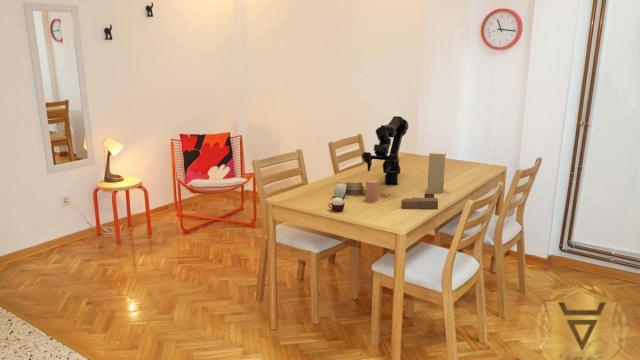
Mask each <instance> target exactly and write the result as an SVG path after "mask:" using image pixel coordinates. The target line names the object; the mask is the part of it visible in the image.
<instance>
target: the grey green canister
mask: <svg viewBox="0 0 640 360" xmlns="http://www.w3.org/2000/svg"><path fill="white" fill-rule="evenodd" d="M345 183H346V182H336V183H334V185H333V186H334V191H333V192H334V197H333V199H334V198H341V199H343V197H344V194H345V191H346V184H345ZM345 199H347V195H346V194H345V197H344V200H345Z"/></svg>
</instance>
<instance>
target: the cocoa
mask: <svg viewBox="0 0 640 360" xmlns="http://www.w3.org/2000/svg"><path fill="white" fill-rule="evenodd" d="M348 187H349V186H347V189H348ZM347 189H346V191H345V194H346V192H347ZM345 194H344V197H345ZM344 197H343V199H341V198H334V197H333V198H332V199H331V202H330V203H328V207H329V208H330V209H331V210H333V211H334V212H338V213H339V212H342V211H343V210H344V208H345V205H346V204H345V199H344Z"/></svg>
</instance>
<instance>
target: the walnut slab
mask: <svg viewBox="0 0 640 360" xmlns="http://www.w3.org/2000/svg"><path fill="white" fill-rule="evenodd" d="M344 183H345V184H346V189H347V186H349V187H348V189H347V192H346V196H364V186H363V182H344Z"/></svg>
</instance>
